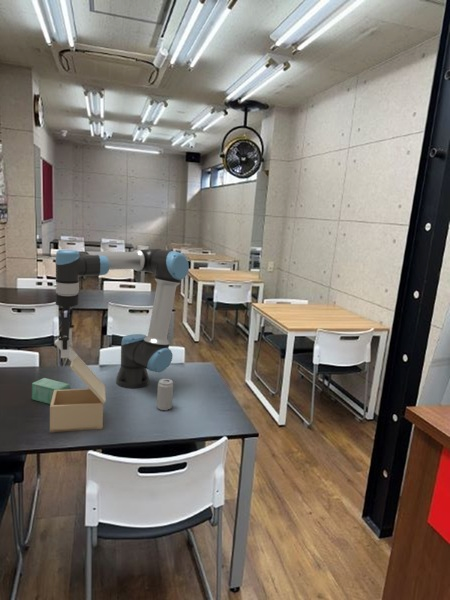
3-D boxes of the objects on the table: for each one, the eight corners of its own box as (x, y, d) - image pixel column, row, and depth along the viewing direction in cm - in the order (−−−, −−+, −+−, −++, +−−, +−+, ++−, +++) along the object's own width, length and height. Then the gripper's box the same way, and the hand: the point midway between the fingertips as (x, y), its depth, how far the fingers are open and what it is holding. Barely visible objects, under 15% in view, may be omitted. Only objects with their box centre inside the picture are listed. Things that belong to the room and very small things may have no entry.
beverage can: (174, 406, 171) (176, 380, 169) (167, 412, 165) (169, 385, 163) (161, 403, 173) (162, 376, 171) (153, 409, 167) (155, 382, 165)
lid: (103, 387, 160) (108, 383, 160) (103, 403, 146) (109, 399, 147) (56, 336, 150) (62, 332, 150) (52, 348, 137) (58, 343, 137)
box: (58, 406, 162) (58, 389, 161) (31, 400, 166) (31, 383, 164) (70, 399, 169) (70, 383, 167) (43, 393, 173) (43, 377, 171)
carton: (102, 411, 162) (103, 388, 160) (102, 429, 148) (103, 404, 146) (53, 413, 156) (54, 389, 154) (49, 432, 143) (49, 406, 141)
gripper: (59, 287, 152) (58, 340, 156) (51, 301, 129) (51, 363, 133) (80, 287, 154) (79, 340, 158) (76, 301, 131) (75, 363, 135)
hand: (66, 351), depth 145 cm, fingers open, 13 cm apart
